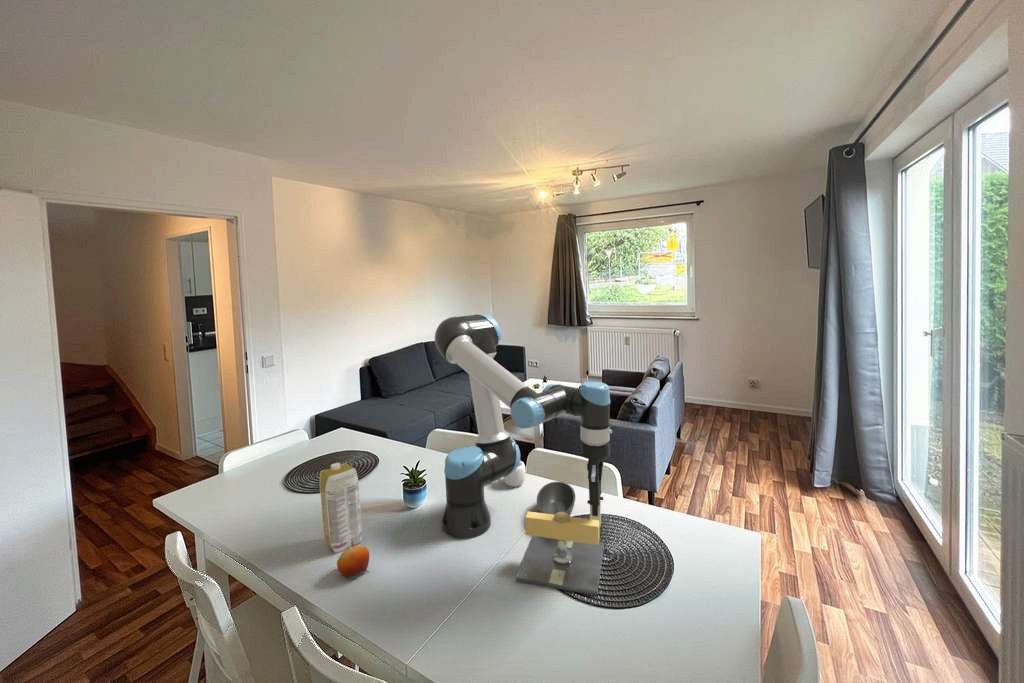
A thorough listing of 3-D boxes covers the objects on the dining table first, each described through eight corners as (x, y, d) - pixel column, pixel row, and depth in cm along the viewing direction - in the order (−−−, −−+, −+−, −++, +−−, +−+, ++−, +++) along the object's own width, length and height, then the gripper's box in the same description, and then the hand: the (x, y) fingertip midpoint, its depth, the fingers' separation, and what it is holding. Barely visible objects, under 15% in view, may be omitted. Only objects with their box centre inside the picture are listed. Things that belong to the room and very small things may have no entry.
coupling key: (525, 535, 114) (524, 515, 113) (529, 527, 118) (528, 507, 117) (598, 546, 109) (598, 524, 108) (599, 537, 113) (599, 516, 112)
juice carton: (353, 531, 132) (347, 456, 129) (365, 542, 126) (359, 464, 123) (322, 545, 125) (315, 466, 122) (333, 557, 120) (326, 474, 116)
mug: (527, 479, 164) (526, 459, 163) (524, 489, 156) (523, 469, 155) (496, 477, 166) (495, 458, 165) (491, 487, 158) (490, 467, 157)
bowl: (576, 499, 147) (576, 482, 147) (573, 536, 126) (573, 517, 125) (541, 497, 150) (541, 480, 149) (532, 533, 128) (532, 514, 128)
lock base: (515, 581, 108) (515, 554, 107) (534, 536, 127) (534, 513, 126) (597, 595, 102) (597, 567, 101) (604, 546, 121) (604, 522, 120)
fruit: (356, 583, 106) (343, 553, 108) (340, 589, 110) (327, 559, 112) (381, 565, 113) (369, 536, 114) (365, 571, 117) (353, 543, 119)
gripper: (608, 451, 107) (608, 540, 110) (611, 433, 119) (611, 513, 122) (577, 449, 109) (578, 536, 112) (583, 431, 121) (584, 510, 124)
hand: (595, 524), depth 117 cm, fingers closed
